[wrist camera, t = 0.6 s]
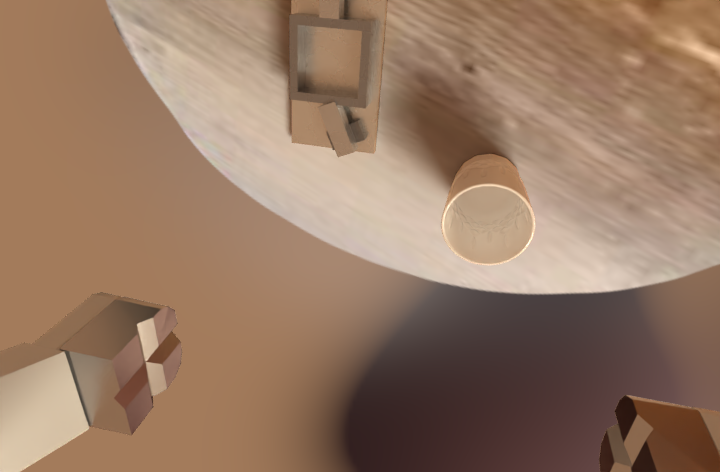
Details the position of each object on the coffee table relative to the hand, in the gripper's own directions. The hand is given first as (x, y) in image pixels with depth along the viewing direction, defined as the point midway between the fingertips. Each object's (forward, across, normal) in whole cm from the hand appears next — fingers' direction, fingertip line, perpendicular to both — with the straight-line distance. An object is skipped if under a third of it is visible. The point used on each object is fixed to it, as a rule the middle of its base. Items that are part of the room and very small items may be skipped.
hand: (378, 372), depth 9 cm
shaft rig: (+43, +12, +2) cm, 44 cm away
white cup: (+43, -4, +13) cm, 45 cm away
